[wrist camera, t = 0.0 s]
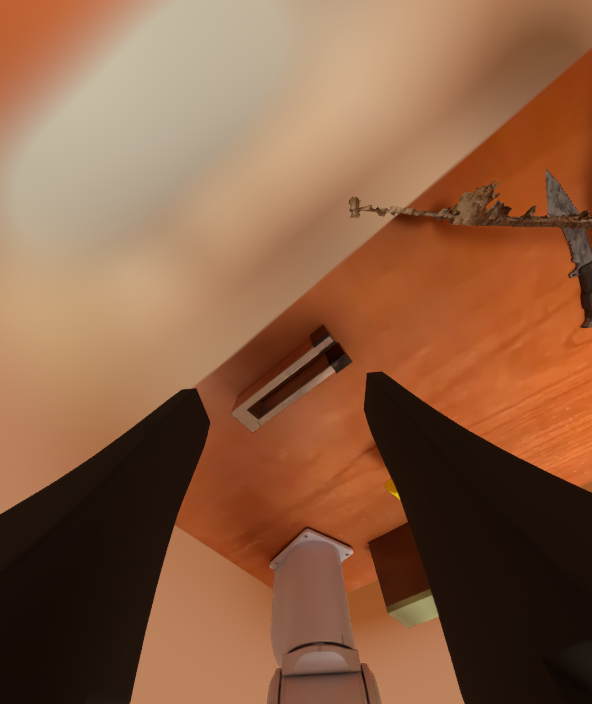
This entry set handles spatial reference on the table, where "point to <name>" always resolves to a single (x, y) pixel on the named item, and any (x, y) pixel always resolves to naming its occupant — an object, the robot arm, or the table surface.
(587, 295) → the knife
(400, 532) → the green-topped brown box
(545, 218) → the bark
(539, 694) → the robot arm
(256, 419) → the brown u-shaped piece
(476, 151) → the table surface
